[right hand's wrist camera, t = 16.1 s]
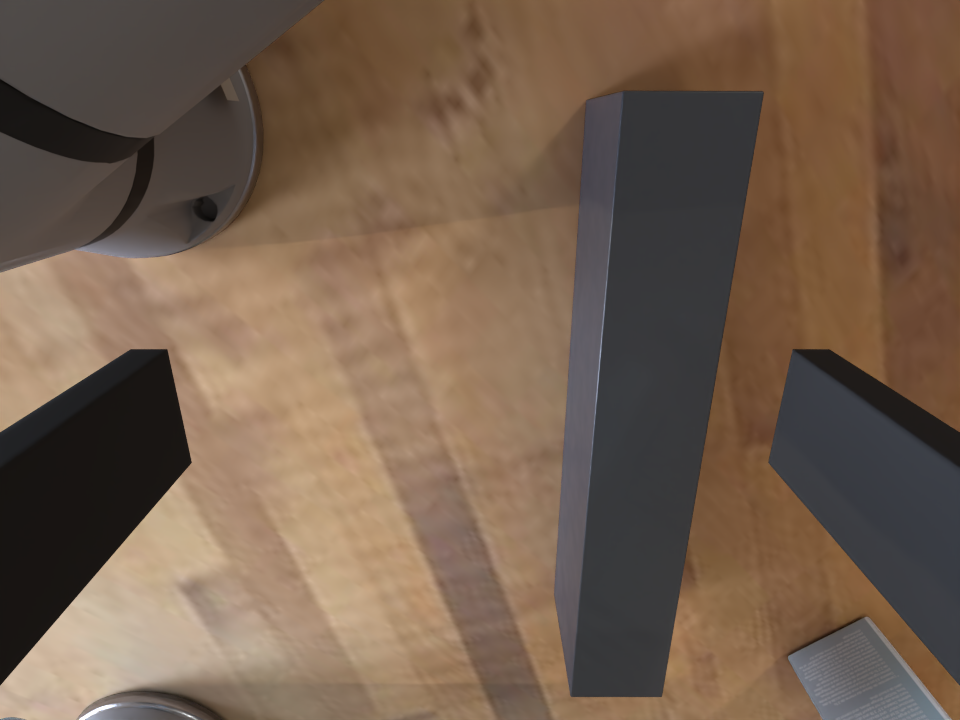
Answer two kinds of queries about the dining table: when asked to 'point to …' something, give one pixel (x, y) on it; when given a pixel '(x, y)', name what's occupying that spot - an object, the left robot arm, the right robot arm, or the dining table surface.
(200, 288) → the dining table surface
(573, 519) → the slate beam
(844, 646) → the hard drive box
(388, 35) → the dining table surface
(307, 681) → the dining table surface
